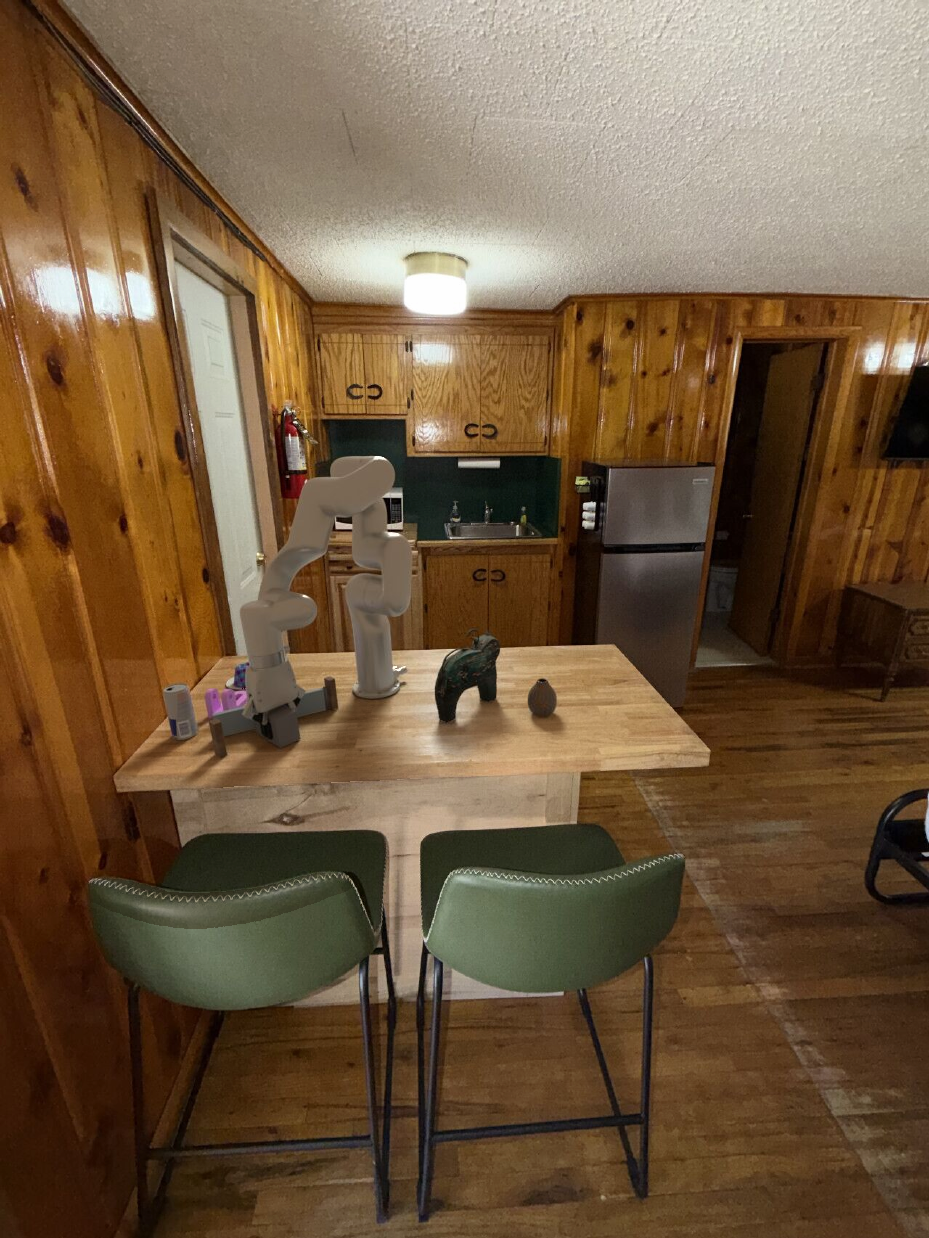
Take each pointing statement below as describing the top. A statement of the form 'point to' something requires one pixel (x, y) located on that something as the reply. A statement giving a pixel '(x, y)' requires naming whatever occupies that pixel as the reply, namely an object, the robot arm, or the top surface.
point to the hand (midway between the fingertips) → (280, 731)
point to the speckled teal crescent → (467, 674)
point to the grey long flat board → (238, 723)
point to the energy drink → (180, 711)
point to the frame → (217, 726)
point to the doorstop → (282, 726)
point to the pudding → (238, 677)
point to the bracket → (224, 700)
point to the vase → (542, 698)
